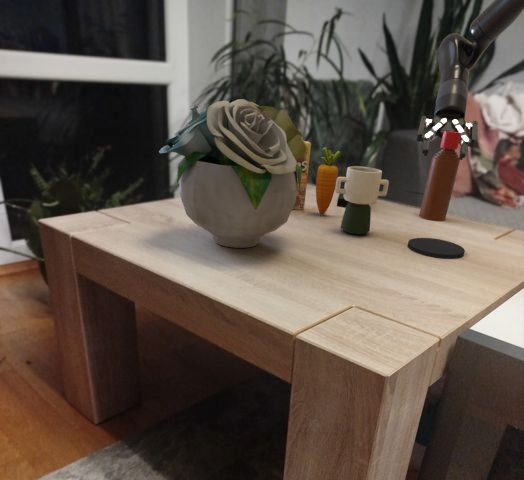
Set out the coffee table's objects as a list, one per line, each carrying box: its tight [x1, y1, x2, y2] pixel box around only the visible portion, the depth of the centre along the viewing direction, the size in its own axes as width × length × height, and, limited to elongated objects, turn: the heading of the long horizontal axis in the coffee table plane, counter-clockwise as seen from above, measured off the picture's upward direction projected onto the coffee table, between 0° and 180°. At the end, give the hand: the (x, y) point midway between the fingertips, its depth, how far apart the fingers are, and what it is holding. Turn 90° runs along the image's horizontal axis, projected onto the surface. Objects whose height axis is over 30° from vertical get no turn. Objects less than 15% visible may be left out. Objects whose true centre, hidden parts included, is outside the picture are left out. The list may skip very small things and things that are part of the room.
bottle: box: [418, 148, 461, 222], centre depth 121 cm, size 6×6×19 cm
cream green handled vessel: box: [334, 165, 390, 235], centre depth 104 cm, size 11×7×13 cm, turn 93°
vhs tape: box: [336, 187, 349, 208], centre depth 134 cm, size 8×14×2 cm, turn 169°
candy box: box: [292, 140, 312, 211], centre depth 119 cm, size 9×4×15 cm, turn 100°
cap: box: [439, 131, 461, 151], centre depth 117 cm, size 4×4×4 cm
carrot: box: [315, 146, 342, 216], centre depth 115 cm, size 5×5×15 cm
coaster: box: [407, 237, 466, 259], centre depth 100 cm, size 11×11×1 cm
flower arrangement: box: [158, 98, 307, 249], centre depth 89 cm, size 25×25×24 cm
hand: (443, 155), depth 125 cm, fingers open, 8 cm apart
